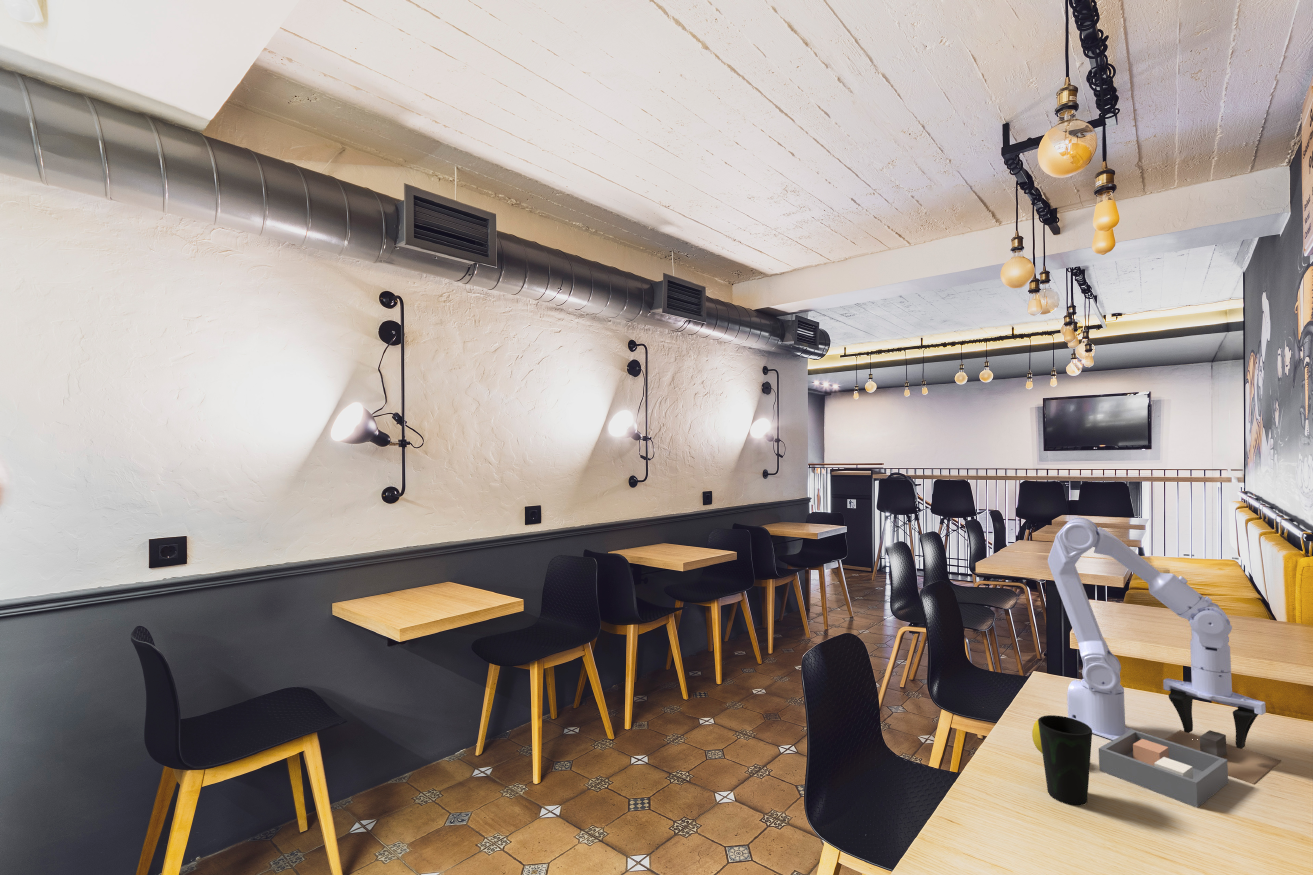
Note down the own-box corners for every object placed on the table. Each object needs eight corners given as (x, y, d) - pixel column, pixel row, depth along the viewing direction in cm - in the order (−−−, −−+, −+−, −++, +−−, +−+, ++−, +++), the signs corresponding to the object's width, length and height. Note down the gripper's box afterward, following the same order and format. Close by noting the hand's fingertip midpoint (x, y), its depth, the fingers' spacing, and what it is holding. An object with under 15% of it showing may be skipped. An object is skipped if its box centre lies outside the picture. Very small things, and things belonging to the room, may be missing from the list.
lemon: (1073, 767, 112) (1071, 723, 112) (1040, 764, 113) (1038, 721, 113) (1059, 752, 117) (1057, 711, 117) (1028, 750, 118) (1026, 709, 118)
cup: (1085, 787, 105) (1083, 718, 105) (1102, 812, 98) (1099, 737, 98) (1035, 780, 107) (1032, 712, 108) (1047, 804, 100) (1044, 731, 100)
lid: (1149, 752, 118) (1148, 730, 118) (1180, 733, 126) (1179, 712, 126) (1253, 787, 105) (1252, 762, 105) (1281, 764, 113) (1279, 741, 113)
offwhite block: (1155, 780, 105) (1154, 762, 106) (1164, 773, 108) (1163, 756, 108) (1183, 790, 102) (1183, 772, 102) (1193, 783, 104) (1192, 766, 104)
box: (1099, 770, 111) (1098, 748, 111) (1133, 750, 118) (1132, 729, 118) (1197, 807, 99) (1196, 782, 99) (1228, 782, 106) (1227, 759, 106)
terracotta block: (1133, 760, 112) (1132, 744, 112) (1142, 754, 114) (1142, 738, 114) (1160, 769, 109) (1159, 752, 109) (1169, 763, 111) (1168, 747, 111)
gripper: (1155, 660, 120) (1158, 729, 120) (1254, 683, 108) (1258, 760, 108) (1170, 654, 124) (1173, 721, 124) (1267, 675, 112) (1271, 749, 111)
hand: (1213, 738), depth 116 cm, fingers open, 7 cm apart
